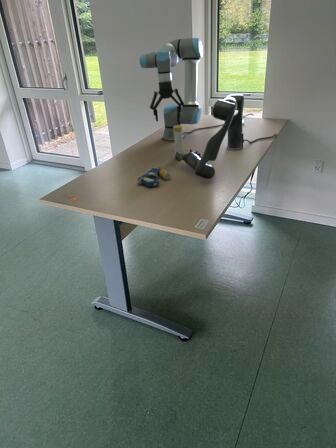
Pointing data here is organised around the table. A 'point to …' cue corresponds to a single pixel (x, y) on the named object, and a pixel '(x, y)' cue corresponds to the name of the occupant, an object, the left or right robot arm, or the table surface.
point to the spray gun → (153, 174)
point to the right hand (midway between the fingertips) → (183, 152)
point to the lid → (177, 128)
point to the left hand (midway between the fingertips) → (167, 119)
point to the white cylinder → (178, 142)
